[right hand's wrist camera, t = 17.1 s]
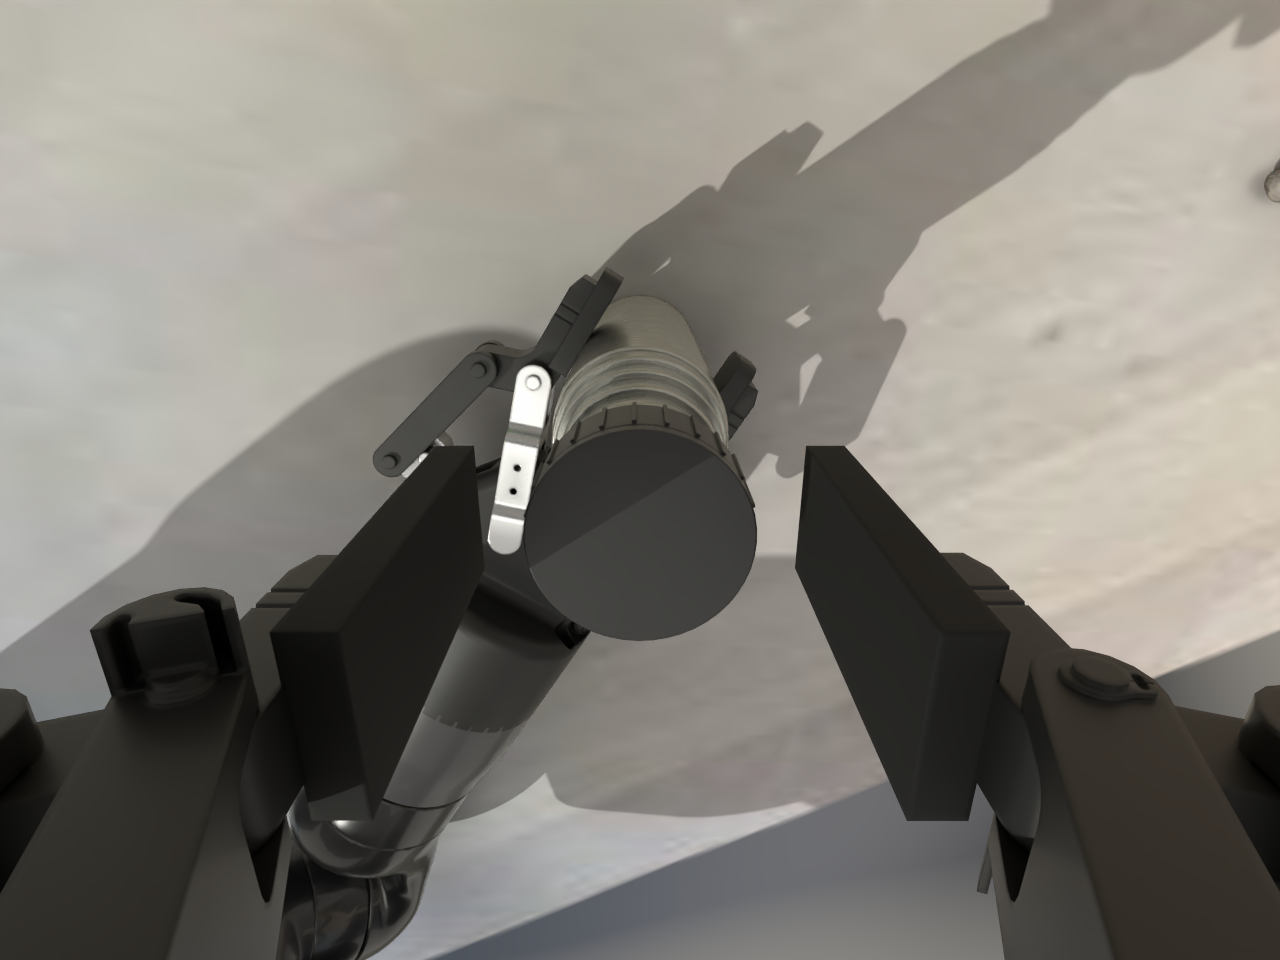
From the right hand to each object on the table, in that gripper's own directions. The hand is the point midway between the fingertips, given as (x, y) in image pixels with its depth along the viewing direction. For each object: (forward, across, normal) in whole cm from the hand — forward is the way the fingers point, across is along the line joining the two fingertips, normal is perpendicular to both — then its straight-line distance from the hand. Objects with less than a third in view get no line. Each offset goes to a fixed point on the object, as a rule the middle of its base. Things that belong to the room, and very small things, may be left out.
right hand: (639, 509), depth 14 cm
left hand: (+11, -1, -2) cm, 12 cm away
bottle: (+18, 0, 0) cm, 18 cm away
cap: (-1, 0, 0) cm, 1 cm away
